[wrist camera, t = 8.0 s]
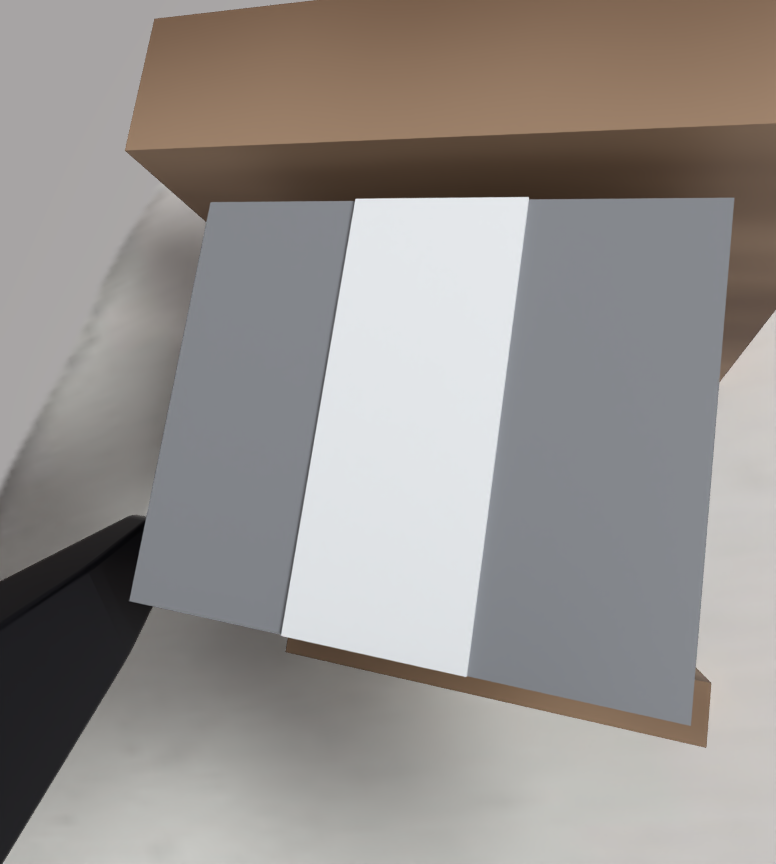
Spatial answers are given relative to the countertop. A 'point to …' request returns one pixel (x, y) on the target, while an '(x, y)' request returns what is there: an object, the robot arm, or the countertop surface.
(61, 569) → the robot arm
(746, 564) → the countertop surface
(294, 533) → the block
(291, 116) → the set of wooden blocks
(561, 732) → the countertop surface
